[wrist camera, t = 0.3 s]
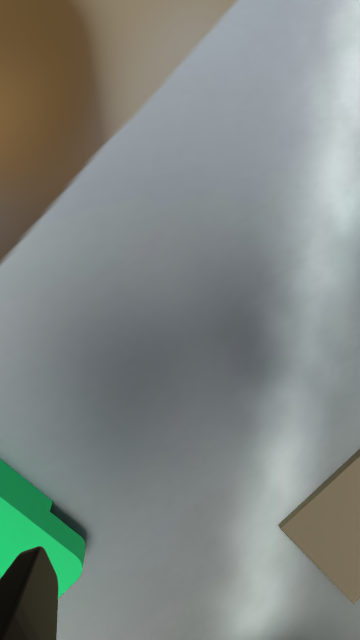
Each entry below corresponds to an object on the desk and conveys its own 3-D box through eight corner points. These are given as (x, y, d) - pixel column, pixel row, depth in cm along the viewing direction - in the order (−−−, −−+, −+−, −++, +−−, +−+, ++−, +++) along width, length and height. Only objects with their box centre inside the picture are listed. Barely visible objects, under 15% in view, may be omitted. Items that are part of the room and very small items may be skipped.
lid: (430, 512, 26) (442, 521, 25) (345, 591, 26) (353, 603, 25) (366, 434, 24) (375, 441, 23) (274, 518, 24) (280, 528, 23)
